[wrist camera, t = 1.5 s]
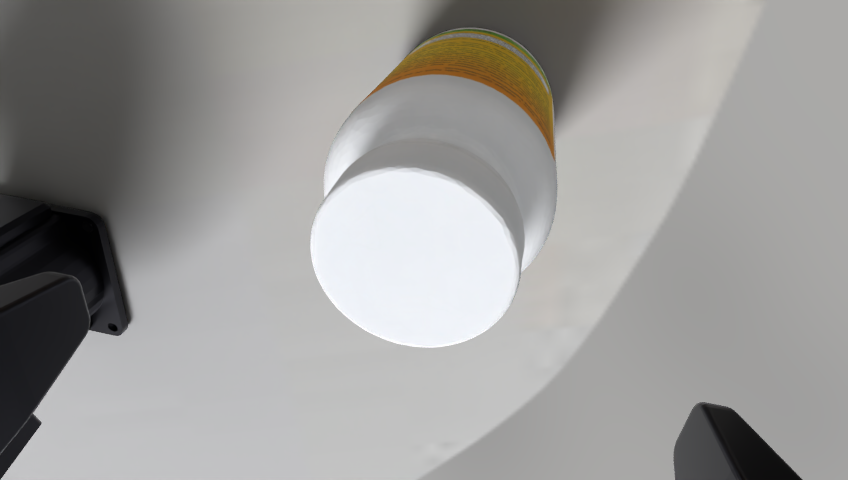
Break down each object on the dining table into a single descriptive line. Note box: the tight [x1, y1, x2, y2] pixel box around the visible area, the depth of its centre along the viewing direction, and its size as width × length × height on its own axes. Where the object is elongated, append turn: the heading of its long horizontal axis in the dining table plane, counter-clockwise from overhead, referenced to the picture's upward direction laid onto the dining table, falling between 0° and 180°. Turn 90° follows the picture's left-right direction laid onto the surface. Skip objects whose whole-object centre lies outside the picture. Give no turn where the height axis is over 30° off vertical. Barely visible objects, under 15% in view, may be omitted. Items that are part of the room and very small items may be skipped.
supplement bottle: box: [310, 28, 557, 347], centre depth 14 cm, size 5×5×10 cm
